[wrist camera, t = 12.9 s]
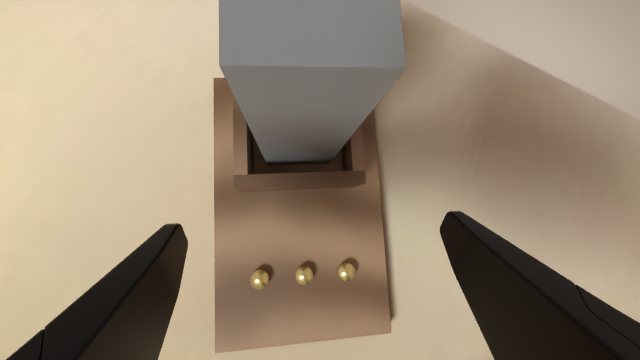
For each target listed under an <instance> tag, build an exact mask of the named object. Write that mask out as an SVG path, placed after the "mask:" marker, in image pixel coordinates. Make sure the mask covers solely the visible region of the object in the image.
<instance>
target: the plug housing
mask: <svg viewBox="0 0 640 360" xmlns="http://www.w3.org/2000/svg"><path fill="white" fill-rule="evenodd" d="M219 66H220V68H221V70H222V72H223V74H224V76H225V78H226V80H227V82H228V84H229V86H230V88H231V91H232V93H233V95H234V97H235V99H236V101H237V103H238V105H239V107H240V109H241V111H242V113H243V115H244V118H245V120H246V122H247V124H248V126H249V128H250V130H251V132H252V134H253V136H254V138H255V140H256V142H257V144H258V147H259V149H260V151H261V153H262V155H263V157H264V159H265V161H266V163H267V165H268V166H275V165H306V164H329V163H330V162H331V161H332V159H333V158H334V157H335V156H336V154H337V153H338V152H339V151H340V150H341V148H342V147H343V146H344V145H345V143H346V142H347V141H348V140H349V138H350V137H351V136H352V135H353V133H354V132H355V131H356V130H357V129H358V127H359V126H360V125H361V124H362V122H363V121H364V120H365V119H366V117H367V116H368V115H369V114H370V112H371V111H372V110H373V109H374V107H375V106H376V105H377V104H378V103H379V101H380V100H381V99H382V98H383V96H384V95H385V94H386V93H387V91H388V90H389V89H390V88H391V86H392V85H393V84H394V83H395V82H396V80H397V79H398V78H399V77H400V75H401V74H402V73H403V72H404V70H405V69H406V58H405V48H404V37H403V27H402V17H401V7H400V0H219Z"/></svg>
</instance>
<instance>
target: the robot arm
mask: <svg viewBox="0 0 640 360" xmlns="http://www.w3.org/2000/svg"><path fill="white" fill-rule="evenodd" d="M440 234H441V237H442V240H443V243H444V246H445V249H446V252H447V254H448V257H449V260H450V263H451V266H452V269H453V271H454V274H455V276H456V278H457V280H458V283H459V285H460V287H461V289H462V291H463V293H464V295H465V297H466V300H467V302H468V304H469V306H470V308H471V310H472V312H473V315H474V317H475V319H476V321H477V323H478V325H479V327H480V330H481V332H482V334H483V336H484V338H485V340H486V342H487V344H488V347H489V349H490V351H491V353H492V355H493V357H494V359H495V360H640V323H639V322H637V321H635V320H634V319H632V318H630V317H628V316H627V315H625V314H623V313H622V312H620V311H618V310H616V309H615V308H613V307H611V306H610V305H608V304H607V303H605V302H603V301H602V300H600V299H599V298H597V297H595V296H594V295H592V294H590V293H589V292H587V291H586V290H584V289H583V288H581V287H579V286H578V285H575V284H574V283H573V282H571V281H570V280H568V279H567V278H565V277H564V276H562V275H560V274H559V273H557V272H556V271H554V270H553V269H551V268H549V267H548V266H546V265H545V264H543V263H541V262H540V261H538V260H537V259H535V258H534V257H532V256H530V255H529V254H527V253H526V252H524V251H523V250H521V249H519V248H518V247H516V246H515V245H513V244H512V243H510V242H508V241H507V240H505V239H504V238H502V237H500V236H499V235H497V234H496V233H494V232H493V231H491V230H489V229H488V228H486V227H485V226H483V225H482V224H480V223H478V222H477V221H475V220H474V219H472V218H470V217H469V216H467V215H466V214H464V213H463V212H460V211H450V212H448V213H447V214H446V216H445V218H444V220H443V222H442V224H441V226H440ZM187 248H188V241H187V238H186V235H185V233H184V231H183V228H182V226H181V225H180V224H178V223H176V224H166V225H164V226H162V227H161V228H160V229H159V230H158V231H157V232H155V233H154V234H153V235H152V236H151V237H150V238H148V239H147V240H146V241H145V242H144V243H143V244H141V245H140V246H139V247H138V248H137V249H136V250H134V251H133V252H132V253H131V254H130V255H129V256H127V257H126V258H125V259H124V260H123V261H121V262H120V263H119V264H118V265H117V266H116V267H114V268H113V269H112V270H111V271H110V272H109V273H107V274H106V275H105V276H104V277H103V278H102V279H100V280H99V281H98V282H97V283H96V284H95V285H93V286H92V287H91V288H90V289H89V290H88V291H86V292H85V293H84V294H83V295H82V296H80V297H79V298H78V299H77V300H76V301H75V302H73V303H72V304H71V305H70V306H69V307H68V308H66V309H65V310H64V311H63V312H62V313H61V314H59V315H58V316H57V317H56V318H55V319H54V320H52V321H51V322H50V323H49V324H48V325H47V326H46V327H45V329H43V330H41V331H39V332H38V333H37V334H36V335H35V336H33V337H32V338H31V339H30V340H29V341H28V342H26V343H25V344H24V345H23V346H22V347H20V348H19V349H18V350H17V351H16V352H14V353H13V354H12V355H11V356H10V357H8V358H7V359H6V360H158V357H159V354H160V351H161V348H162V345H163V341H164V338H165V335H166V332H167V329H168V326H169V322H170V319H171V316H172V313H173V310H174V307H175V303H176V300H177V297H178V293H179V289H180V284H181V279H182V274H183V269H184V263H185V258H186V253H187Z"/></svg>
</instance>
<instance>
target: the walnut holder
mask: <svg viewBox="0 0 640 360" xmlns="http://www.w3.org/2000/svg"><path fill="white" fill-rule="evenodd" d="M214 219H215V353H221V352H230V351H238V350H247V349H256V348H264V347H273V346H282V345H291V344H299V343H308V342H317V341H325V340H334V339H343V338H351V337H360V336H369V335H378V334H386V333H391V321H390V309H389V296H388V284H387V271H386V259H385V247H384V234H383V222H382V209H381V197H380V184H379V172H378V160H377V147H376V135H375V122H374V110H372V111H371V112H370V114H369V115H368V116H367V117H366V119H365V120H364V121H363V122H362V124H361V125H360V126H359V127H358V129H357V130H356V131H355V132H354V133H353V135H352V136H351V137H350V138H349V140H348V141H347V142H346V143H345V145H344V146H343V147H342V148H341V150H340V151H339V152H338V153H337V154H336V156H335V157H334V158H333V159H332V161H331V162H330V163H329V164H306V165H275V166H268V165H267V163H266V161H265V159H264V157H263V155H262V153H261V151H260V149H259V147H258V144H257V142H256V140H255V138H254V136H253V134H252V132H251V130H250V128H249V126H248V124H247V122H246V120H245V118H244V115H243V113H242V111H241V109H240V107H239V105H238V103H237V101H236V99H235V97H234V95H233V93H232V91H231V88H230V86H229V84H228V82H227V80H226V78H214Z"/></svg>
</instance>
